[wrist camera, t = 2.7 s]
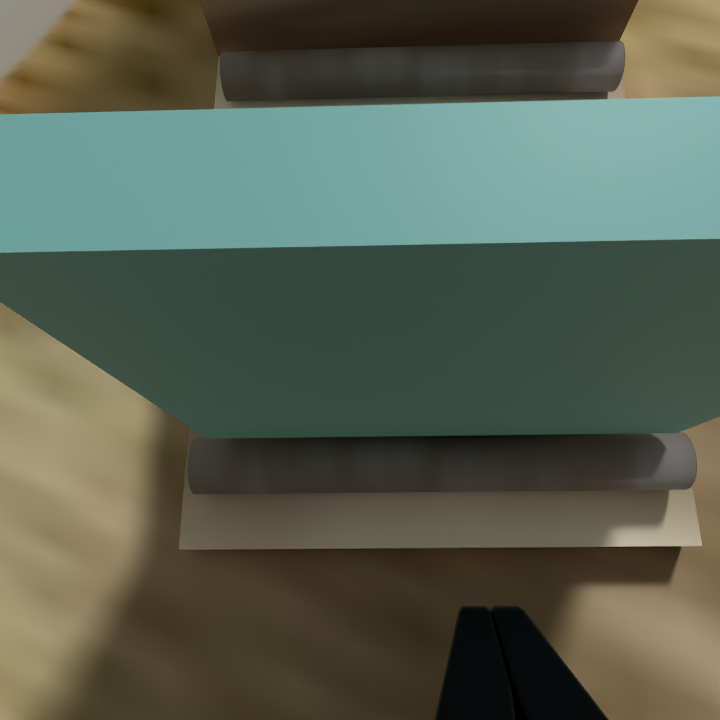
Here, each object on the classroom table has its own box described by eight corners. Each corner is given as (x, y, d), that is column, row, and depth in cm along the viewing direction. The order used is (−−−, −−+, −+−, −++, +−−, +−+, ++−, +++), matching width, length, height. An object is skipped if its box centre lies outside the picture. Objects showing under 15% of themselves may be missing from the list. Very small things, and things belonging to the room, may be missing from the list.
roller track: (682, 546, 16) (855, 543, 10) (190, 549, 16) (87, 548, 10) (596, 11, 21) (677, -188, 16) (229, 22, 22) (176, -169, 16)
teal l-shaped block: (677, 433, 14) (1192, 228, 5) (207, 438, 14) (-73, 254, 5) (633, 173, 16) (946, -286, 7) (224, 183, 16) (45, -250, 8)
